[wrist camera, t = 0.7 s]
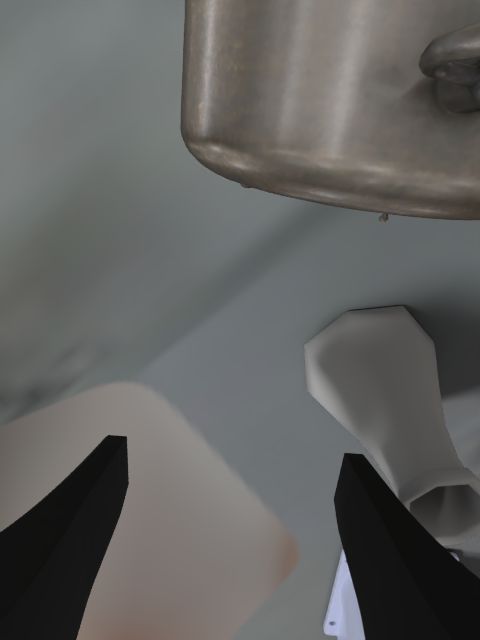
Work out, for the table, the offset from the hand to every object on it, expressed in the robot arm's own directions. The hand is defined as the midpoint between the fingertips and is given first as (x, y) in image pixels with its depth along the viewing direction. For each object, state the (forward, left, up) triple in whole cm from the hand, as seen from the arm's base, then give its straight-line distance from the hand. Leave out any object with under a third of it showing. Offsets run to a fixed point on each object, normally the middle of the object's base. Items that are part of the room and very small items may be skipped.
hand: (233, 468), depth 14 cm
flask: (-1, -7, -10) cm, 12 cm away
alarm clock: (+11, -3, -10) cm, 15 cm away
